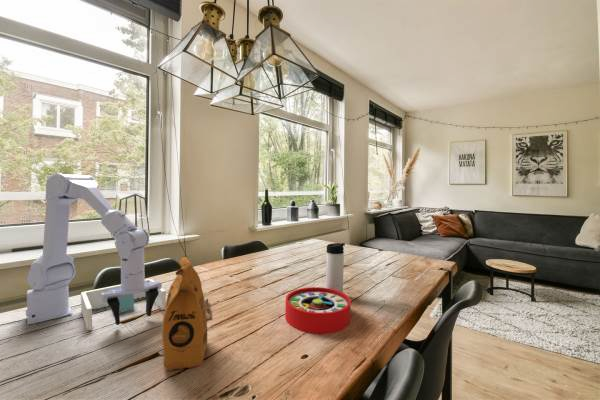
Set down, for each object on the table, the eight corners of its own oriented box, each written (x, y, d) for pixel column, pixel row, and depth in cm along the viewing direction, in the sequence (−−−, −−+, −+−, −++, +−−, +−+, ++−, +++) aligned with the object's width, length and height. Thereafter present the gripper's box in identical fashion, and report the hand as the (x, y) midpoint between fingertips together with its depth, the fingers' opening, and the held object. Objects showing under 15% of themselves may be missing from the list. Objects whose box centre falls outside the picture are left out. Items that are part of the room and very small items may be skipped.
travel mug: (343, 301, 95) (344, 245, 94) (324, 299, 97) (325, 244, 96) (344, 295, 101) (345, 241, 101) (326, 293, 103) (327, 241, 102)
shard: (207, 303, 93) (207, 297, 93) (228, 309, 89) (228, 302, 89) (175, 320, 81) (175, 313, 81) (197, 327, 77) (197, 320, 77)
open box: (87, 330, 74) (87, 309, 74) (81, 311, 86) (81, 292, 85) (165, 309, 88) (165, 290, 87) (151, 294, 99) (151, 278, 99)
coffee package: (155, 376, 57) (154, 272, 56) (167, 343, 69) (166, 257, 68) (205, 368, 59) (205, 268, 58) (208, 337, 71) (208, 255, 70)
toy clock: (275, 307, 77) (296, 284, 96) (275, 327, 77) (296, 300, 96) (346, 318, 71) (354, 291, 90) (345, 340, 71) (353, 308, 91)
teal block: (115, 313, 84) (115, 298, 84) (112, 308, 88) (112, 293, 88) (133, 309, 88) (133, 293, 87) (130, 304, 91) (130, 289, 91)
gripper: (104, 281, 69) (104, 333, 70) (164, 270, 79) (165, 315, 80) (99, 274, 74) (100, 323, 75) (157, 265, 84) (157, 308, 85)
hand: (133, 319), depth 78 cm, fingers open, 7 cm apart
